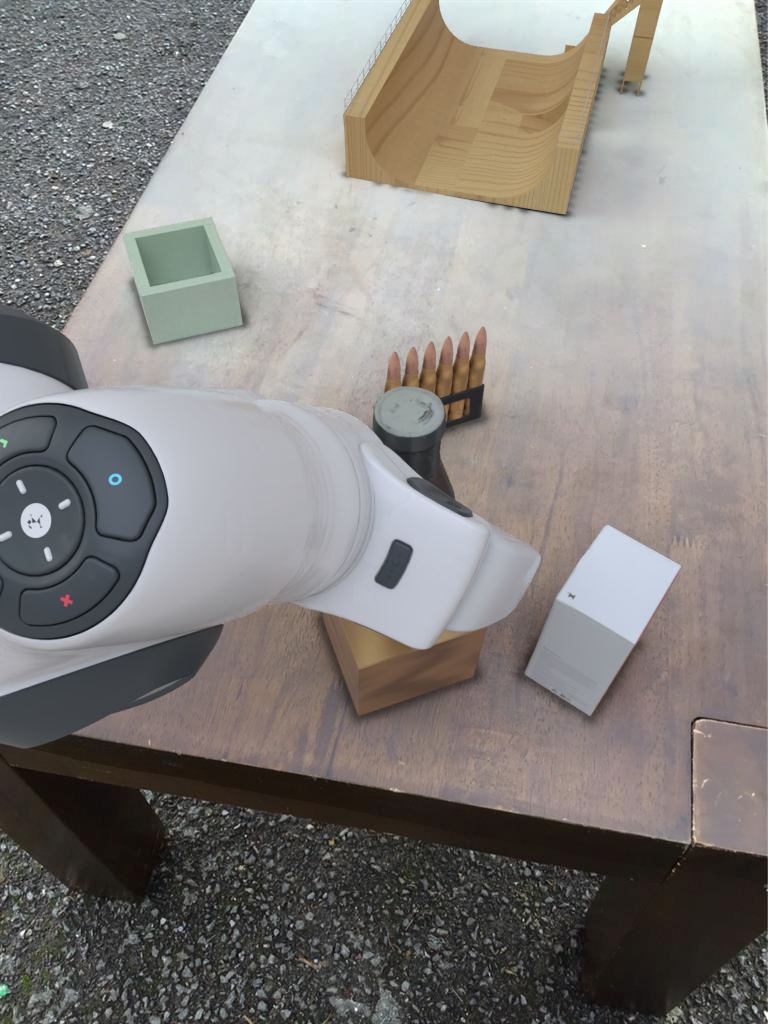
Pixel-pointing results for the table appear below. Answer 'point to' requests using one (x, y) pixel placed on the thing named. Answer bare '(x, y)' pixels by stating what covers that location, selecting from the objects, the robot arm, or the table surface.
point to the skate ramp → (482, 110)
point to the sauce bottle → (414, 431)
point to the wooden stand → (398, 663)
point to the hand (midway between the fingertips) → (407, 491)
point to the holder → (179, 258)
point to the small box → (600, 618)
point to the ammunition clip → (447, 376)
